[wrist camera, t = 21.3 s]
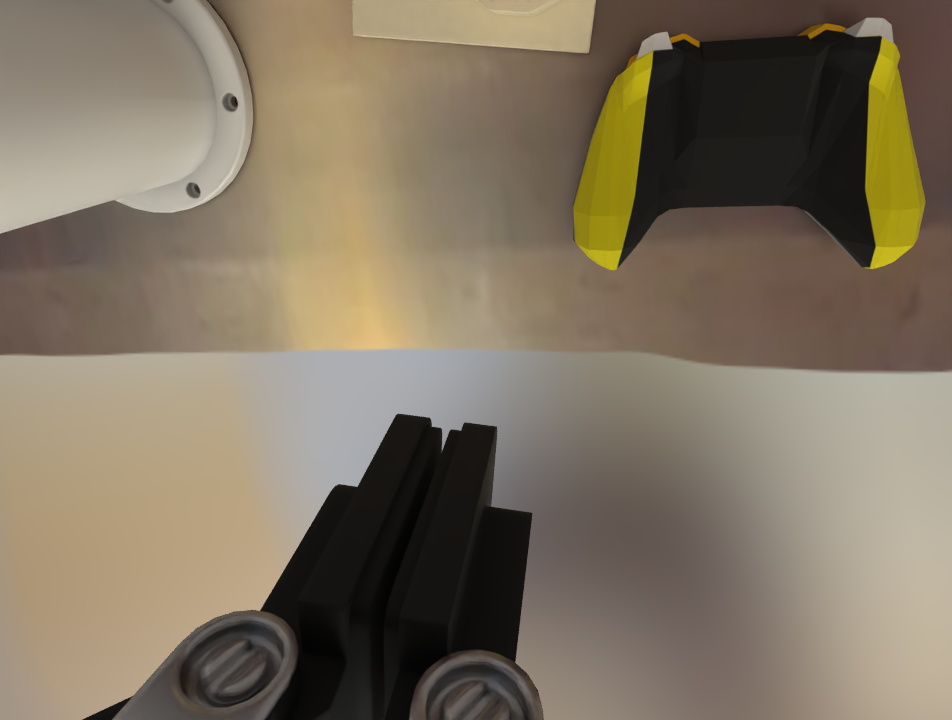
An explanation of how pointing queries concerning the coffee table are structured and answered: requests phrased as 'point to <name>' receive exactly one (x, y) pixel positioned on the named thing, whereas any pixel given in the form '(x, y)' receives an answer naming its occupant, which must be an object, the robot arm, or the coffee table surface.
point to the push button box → (480, 22)
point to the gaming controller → (756, 139)
